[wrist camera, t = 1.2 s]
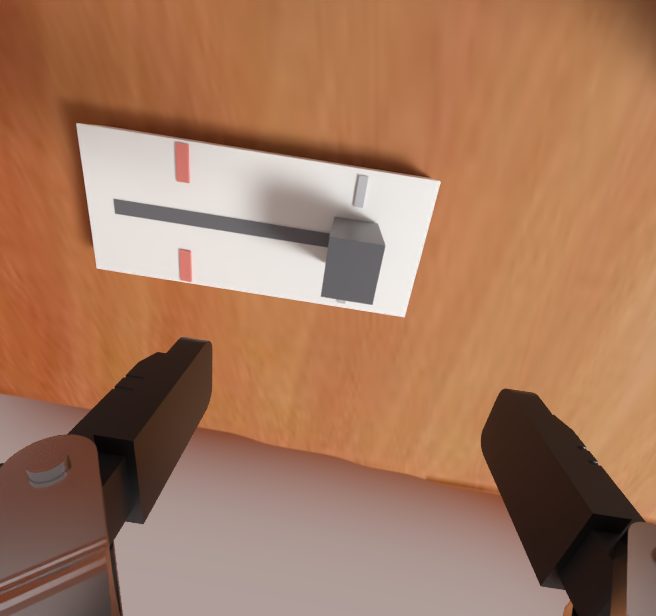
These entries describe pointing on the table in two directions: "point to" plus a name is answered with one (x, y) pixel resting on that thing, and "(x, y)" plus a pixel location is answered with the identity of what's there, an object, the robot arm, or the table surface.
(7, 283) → the table surface
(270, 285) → the panel
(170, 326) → the table surface
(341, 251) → the fader tab
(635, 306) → the table surface
